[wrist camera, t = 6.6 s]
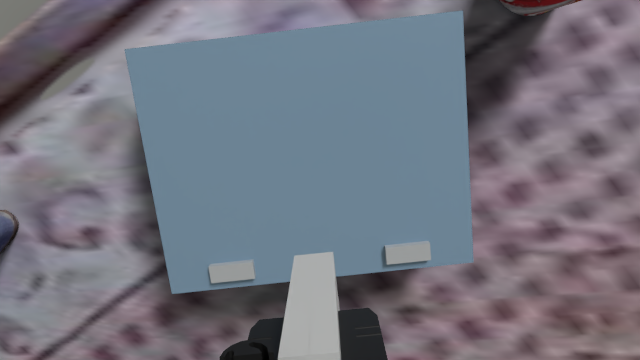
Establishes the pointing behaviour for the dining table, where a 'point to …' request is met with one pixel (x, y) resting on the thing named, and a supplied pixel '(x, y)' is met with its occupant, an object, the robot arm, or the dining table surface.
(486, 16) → the dining table surface
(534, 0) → the soda can
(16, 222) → the flask
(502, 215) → the dining table surface
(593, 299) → the dining table surface
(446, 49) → the cover
